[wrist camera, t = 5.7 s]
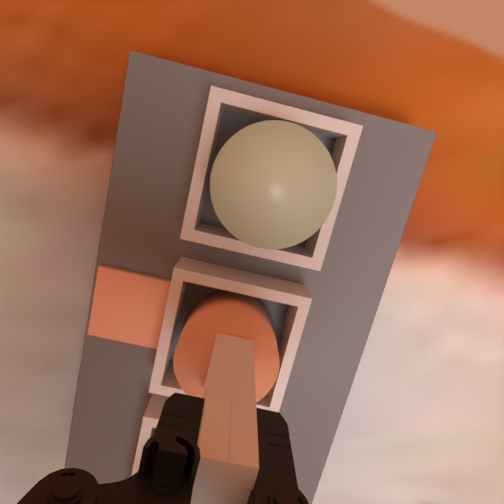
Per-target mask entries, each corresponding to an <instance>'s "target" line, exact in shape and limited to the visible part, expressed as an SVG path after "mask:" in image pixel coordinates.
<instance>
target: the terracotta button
mask: <svg viewBox="0 0 504 504" xmlns="http://www.w3.org/2000/svg"><path fill="white" fill-rule="evenodd" d="M217 333H221V334H226V335H231V336H235V337H240V338H244V339H249V340H253V347H254V368H255V389H256V402H258V401H260V400H261V399H262V398H263V397H264V396H265V395H266V394H267V393H268V392H269V391H270V390H271V388H272V387H273V385H274V383H275V381H276V379H277V376H278V372H279V365H280V361H279V353H278V347H277V342H276V336H275V331H274V326H273V321H272V318H271V316H270V314H269V312H268V310H267V309H266V308H265V306H264V305H263V304H262V303H261V302H260V301H259V300H257V299H256V298H254V297H253V296H248V295H244V294H239V293H235V292H230V291H226V290H224V291H218V292H215V293H212V294H209V295H207V296H205V297H204V298H202V299H201V300H200V301H199V302H197V303H196V304H195V306H194V307H193V308H192V309H191V311H190V313H189V315H188V317H187V319H186V322H185V325H184V327H183V330H182V333H181V335H180V338H179V341H178V343H177V346H176V349H175V352H174V358H173V367H174V373H175V376H176V379H177V381H178V383H179V385H180V387H181V388H182V390H183V391H184V392H185V393H186V394H187V395H190V396H195V397H200V398H202V394H203V389H204V385H205V381H206V377H207V373H208V369H209V365H210V360H211V356H212V352H213V348H214V344H215V340H216V335H217Z"/></svg>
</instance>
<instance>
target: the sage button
mask: <svg viewBox="0 0 504 504" xmlns="http://www.w3.org/2000/svg"><path fill="white" fill-rule="evenodd" d="M336 191H337V176H336V170H335V166H334V163H333V160H332V158H331V156H330V154H329V152H328V150H327V149H326V147H325V146H324V144H323V143H322V142H321V141H320V140H319V139H318V138H317V137H316V136H315V135H314V134H313V133H311V132H310V131H308V130H307V129H305V128H303V127H301V126H299V125H297V124H294V123H291V122H287V121H281V120H269V121H262V122H257V123H254V124H252V125H249V126H247V127H245V128H243V129H241V130H240V131H238V132H237V133H236V134H234V135H233V136H232V137H231V138H230V139H229V140H228V141H227V142H226V143H225V144H224V146H223V147H222V148H221V150H220V151H219V153H218V155H217V157H216V159H215V161H214V164H213V167H212V171H211V177H210V195H211V200H212V204H213V207H214V210H215V212H216V214H217V216H218V218H219V220H220V221H221V223H222V224H223V225H224V227H225V228H226V229H227V230H228V231H229V232H230V233H231V234H232V235H234V236H235V237H236V238H237V239H239V240H241V241H242V242H244V243H246V244H249V245H251V246H254V247H258V248H263V249H283V248H287V247H291V246H294V245H297V244H299V243H301V242H303V241H305V240H306V239H308V238H309V237H311V236H312V235H313V234H314V233H315V232H317V231H318V230H319V228H320V227H321V226H322V225H323V224H324V222H325V221H326V219H327V218H328V216H329V214H330V212H331V210H332V208H333V205H334V202H335V197H336Z"/></svg>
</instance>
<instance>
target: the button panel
mask: <svg viewBox="0 0 504 504" xmlns="http://www.w3.org/2000/svg"><path fill="white" fill-rule="evenodd" d="M269 120H281V121H287V122H291V123H294V124H297V125H299V126H301V127H303V128H305V129H307V130H308V131H310V132H311V133H313V134H314V135H315V136H316V137H317V138H318V139H319V140H320V141H321V142H322V143H323V144H324V146H325V147H326V149H327V150H328V152H329V154H330V156H331V158H332V160H333V163H334V166H335V170H336V176H337V191H336V197H335V202H334V205H333V208H332V210H331V212H330V214H329V216H328V218H327V219H326V221H325V222H324V224H323V225H322V226H321V227H320V228H319V230H318V231H317V232H315V233H314V234H313V235H312V236H311V237H309V238H308V239H306V240H305V241H303V242H301V243H299V244H297V245H294V246H291V247H287V248H283V249H263V248H258V247H254V246H251V245H249V244H246V243H244V242H242V241H241V240H239V239H237V238H236V237H235V236H234V235H232V234H231V233H230V232H229V231H228V230H227V229H226V228H225V227H224V225H223V224H222V223H221V221H220V220H219V218H218V216H217V214H216V212H215V210H214V207H213V204H212V200H211V195H210V177H211V171H212V167H213V164H214V161H215V159H216V157H217V155H218V153H219V151H220V150H221V148H222V147H223V146H224V144H225V143H226V142H227V141H228V140H229V139H230V138H231V137H232V136H233V135H234V134H236V133H237V132H238V131H240V130H241V129H243V128H245V127H247V126H249V125H252V124H254V123H257V122H262V121H269ZM436 134H437V132H436V131H432V130H429V129H425V128H421V127H417V126H414V125H410V124H406V123H402V122H399V121H395V120H391V119H387V118H384V117H380V116H376V115H372V114H369V113H365V112H361V111H357V110H354V109H350V108H346V107H342V106H339V105H335V104H331V103H327V102H324V101H320V100H316V99H312V98H309V97H305V96H301V95H297V94H294V93H290V92H286V91H283V90H279V89H275V88H271V87H268V86H264V85H260V84H256V83H253V82H249V81H245V80H241V79H238V78H234V77H230V76H226V75H223V74H219V73H215V72H211V71H208V70H204V69H200V68H196V67H193V66H189V65H185V64H181V63H178V62H174V61H170V60H166V59H163V58H159V57H155V56H151V55H148V54H144V53H140V52H136V51H133V50H130V54H129V60H128V67H127V73H126V79H125V86H124V92H123V99H122V105H121V111H120V118H119V124H118V130H117V137H116V143H115V150H114V156H113V162H112V169H111V175H110V181H109V188H108V194H107V201H106V207H105V213H104V220H103V226H102V232H101V239H100V245H99V251H98V258H97V264H96V271H95V277H94V283H93V290H92V296H91V302H90V309H89V315H88V322H87V328H86V334H85V341H84V347H83V353H82V360H81V366H80V373H79V379H78V385H77V392H76V398H75V404H74V411H73V417H72V424H71V430H70V436H69V443H68V449H67V455H66V462H65V468H64V469H67V468H78V469H82V470H86V471H88V472H89V473H91V474H92V475H93V476H94V477H95V478H96V480H97V482H98V484H104V483H113V482H118V481H122V480H125V479H127V478H129V477H131V476H132V475H134V474H135V473H137V472H138V470H139V465H140V460H141V456H142V451H143V446H144V445H145V443H146V442H147V440H148V439H149V438H151V437H152V436H154V433H155V430H156V427H157V424H158V421H159V418H160V415H161V412H162V409H163V406H164V403H165V401H166V400H167V399H168V398H169V397H170V396H171V395H173V394H174V393H180V394H185V395H187V394H186V393H185V392H184V391H183V390H182V388H181V387H180V385H179V383H178V381H177V379H176V376H175V373H174V367H173V358H174V352H175V349H176V346H177V343H178V341H179V338H180V335H181V333H182V330H183V327H184V325H185V322H186V319H187V317H188V315H189V313H190V311H191V309H192V308H193V307H194V306H195V304H196V303H197V302H199V301H200V300H201V299H202V298H204V297H205V296H207V295H209V294H212V293H215V292H218V291H224V290H226V291H230V292H235V293H239V294H244V295H248V296H253V297H254V298H256V299H257V300H259V301H260V302H261V303H262V304H263V305H264V306H265V308H266V309H267V310H268V312H269V314H270V316H271V318H272V321H273V326H274V331H275V336H276V342H277V347H278V353H279V361H280V365H279V372H278V376H277V379H276V381H275V383H274V385H273V387H272V388H271V390H270V391H269V392H268V393H267V394H266V395H265V396H264V397H263V398H262V399H261V400H260V401H258V402H256V408H260V409H265V410H270V411H275V412H280V414H281V415H282V417H283V418H284V420H285V421H286V423H287V424H288V429H289V435H290V438H289V439H290V441H291V449H292V454H293V460H294V466H295V472H296V478H297V484H298V489H299V490H300V491H301V492H302V493H303V495H304V496H305V497H306V498H307V501H308V503H309V504H312V501H313V498H314V495H315V492H316V489H317V486H318V483H319V480H320V477H321V474H322V471H323V468H324V465H325V462H326V460H327V457H328V454H329V451H330V448H331V445H332V442H333V439H334V436H335V433H336V430H337V427H338V424H339V421H340V418H341V415H342V412H343V409H344V406H345V403H346V400H347V397H348V394H349V391H350V388H351V385H352V382H353V380H354V377H355V374H356V371H357V368H358V365H359V362H360V359H361V356H362V353H363V350H364V347H365V344H366V341H367V338H368V335H369V332H370V329H371V326H372V323H373V320H374V317H375V314H376V311H377V308H378V305H379V302H380V299H381V297H382V294H383V291H384V288H385V285H386V282H387V279H388V276H389V273H390V270H391V267H392V264H393V261H394V258H395V255H396V252H397V249H398V246H399V243H400V240H401V237H402V234H403V231H404V228H405V225H406V222H407V219H408V217H409V214H410V211H411V208H412V205H413V202H414V199H415V196H416V193H417V190H418V187H419V184H420V181H421V178H422V175H423V172H424V169H425V166H426V163H427V160H428V157H429V154H430V151H431V148H432V145H433V142H434V139H435V136H436Z"/></svg>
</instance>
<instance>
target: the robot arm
mask: <svg viewBox="0 0 504 504" xmlns="http://www.w3.org/2000/svg"><path fill="white" fill-rule="evenodd" d="M289 438H290V435H289V429H288V424H287V423H286V421H285V420H284V418H283V417H282V415H281V414H280V412H275V411H270V410H265V409H260V408H256V389H255V368H254V347H253V340H249V339H244V338H240V337H235V336H231V335H226V334H221V333H217V335H216V340H215V344H214V348H213V352H212V356H211V360H210V365H209V369H208V373H207V377H206V381H205V385H204V389H203V394H202V398H200V397H195V396H190V395H185V394H180V393H174V394H173V395H171V396H170V397H169V398H168V399H167V400H166V401H165V403H164V406H163V409H162V412H161V415H160V418H159V421H158V424H157V427H156V430H155V433H154V436H152V437H151V438H149V439H148V440H147V442H146V443H145V445H144V446H143V451H142V456H141V460H140V465H139V470H138V472H137V473H135V474H134V475H132V476H131V477H129V478H127V479H125V480H122V481H118V482H113V483H104V484H98V482H97V480H96V478H95V477H94V476H93V475H92V474H91V473H89V472H88V471H86V470H82V469H78V468H67V469H61V470H58V471H55V472H53V473H50V474H48V475H47V476H46V477H44V478H43V479H42V480H40V481H39V482H38V483H37V484H36V485H35V486H34V487H33V488H32V489H31V490H30V491H29V492H28V493H27V494H26V495H25V496H24V497H23V498H22V499H21V500H20V501H19V502H18V503H17V504H309V503H308V501H307V498H306V497H305V496H304V495H303V493H302V492H301V491H300V490H299V489H298V484H297V478H296V472H295V466H294V460H293V454H292V449H291V441H290V439H289Z"/></svg>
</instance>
